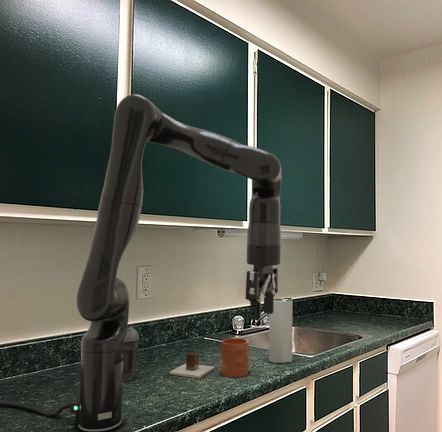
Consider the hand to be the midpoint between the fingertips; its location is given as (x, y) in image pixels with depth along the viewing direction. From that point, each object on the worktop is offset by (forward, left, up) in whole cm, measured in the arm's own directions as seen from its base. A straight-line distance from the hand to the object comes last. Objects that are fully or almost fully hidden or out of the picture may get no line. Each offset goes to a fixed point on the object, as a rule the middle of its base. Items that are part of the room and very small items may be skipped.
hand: (262, 316), depth 100 cm
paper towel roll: (-13, +57, -26) cm, 64 cm away
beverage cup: (-50, +21, -26) cm, 60 cm away
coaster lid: (-35, +35, -26) cm, 56 cm away
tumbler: (-22, +39, -26) cm, 52 cm away
